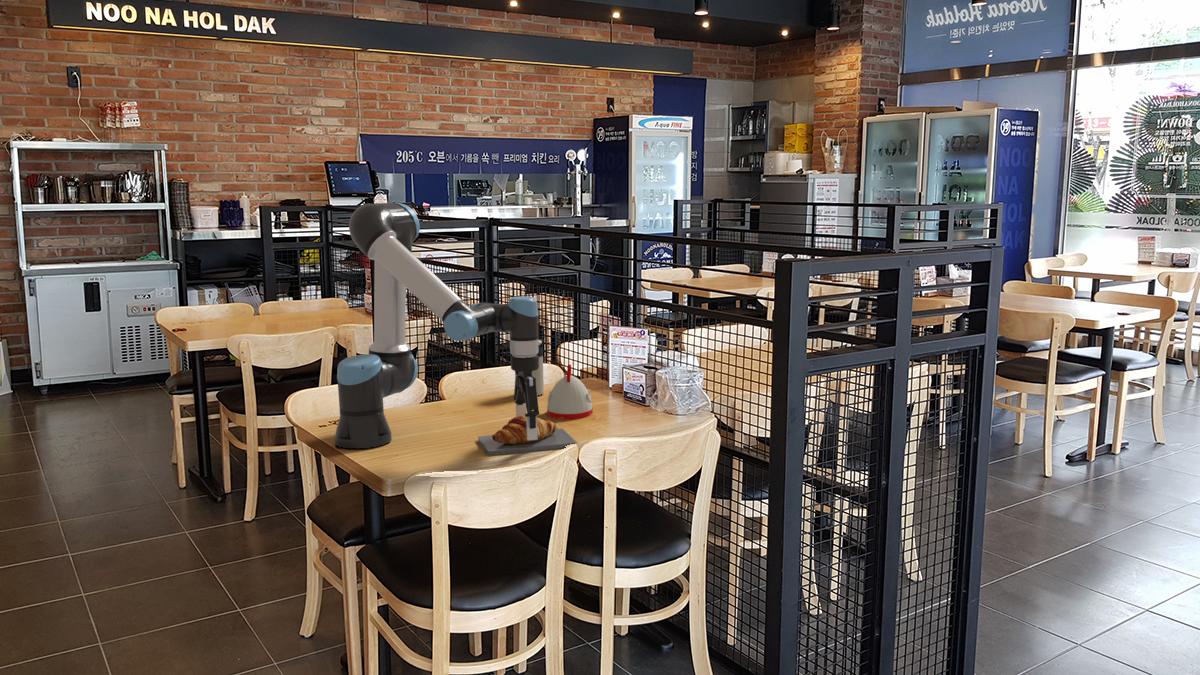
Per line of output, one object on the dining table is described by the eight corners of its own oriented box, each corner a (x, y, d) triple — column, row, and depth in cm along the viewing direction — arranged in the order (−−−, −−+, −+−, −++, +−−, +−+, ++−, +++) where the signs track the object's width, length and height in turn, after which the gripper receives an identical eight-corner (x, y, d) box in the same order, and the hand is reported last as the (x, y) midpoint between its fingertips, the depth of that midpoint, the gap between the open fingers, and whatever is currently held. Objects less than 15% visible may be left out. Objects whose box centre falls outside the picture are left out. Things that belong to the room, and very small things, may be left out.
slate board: (488, 456, 237) (488, 451, 236) (478, 441, 251) (477, 436, 250) (577, 447, 244) (577, 442, 244) (562, 433, 258) (562, 428, 258)
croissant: (551, 442, 256) (543, 415, 258) (571, 431, 249) (562, 404, 251) (488, 455, 243) (480, 426, 244) (507, 445, 235) (498, 415, 237)
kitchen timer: (593, 408, 286) (592, 361, 284) (591, 419, 272) (591, 370, 270) (549, 408, 287) (548, 361, 284) (545, 419, 273) (544, 370, 270)
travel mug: (534, 398, 300) (532, 344, 297) (515, 395, 304) (513, 342, 301) (548, 393, 306) (547, 340, 303) (529, 390, 311) (528, 338, 308)
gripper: (549, 362, 233) (551, 444, 237) (528, 346, 256) (529, 421, 259) (521, 364, 231) (523, 446, 234) (501, 348, 253) (503, 423, 257)
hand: (526, 433), depth 247 cm, fingers open, 12 cm apart
